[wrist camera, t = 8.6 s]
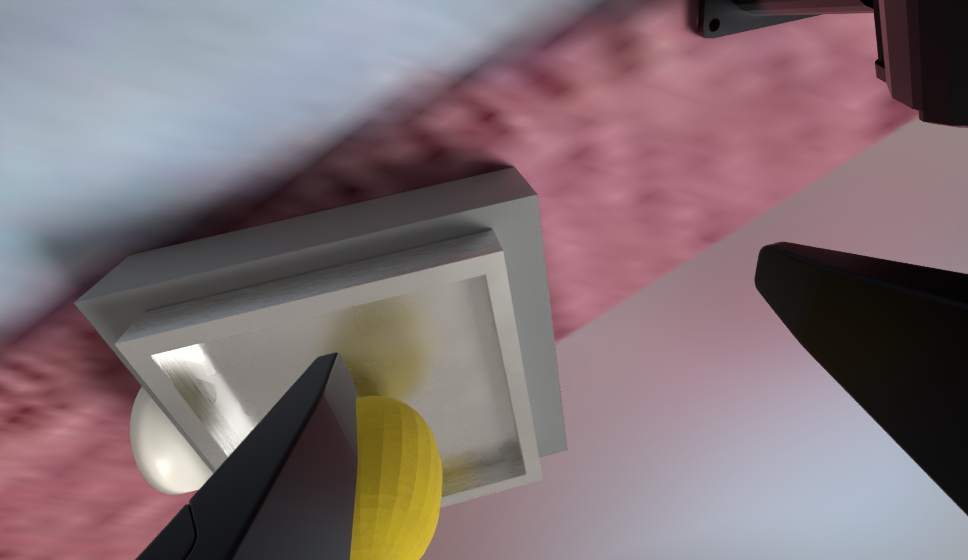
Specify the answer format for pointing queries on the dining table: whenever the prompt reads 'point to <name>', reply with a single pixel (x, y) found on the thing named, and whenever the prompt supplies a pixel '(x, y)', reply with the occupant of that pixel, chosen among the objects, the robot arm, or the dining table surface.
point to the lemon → (394, 482)
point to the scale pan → (359, 355)
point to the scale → (320, 246)
